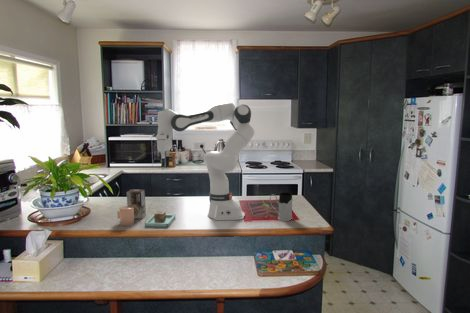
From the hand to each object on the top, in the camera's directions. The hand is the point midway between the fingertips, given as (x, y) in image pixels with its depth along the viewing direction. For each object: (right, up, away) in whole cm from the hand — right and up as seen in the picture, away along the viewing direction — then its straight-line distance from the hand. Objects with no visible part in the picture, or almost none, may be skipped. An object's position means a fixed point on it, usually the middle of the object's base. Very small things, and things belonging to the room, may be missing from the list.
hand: (165, 157), depth 205 cm
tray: (+1, -37, -18) cm, 41 cm away
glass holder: (+71, -37, -9) cm, 80 cm away
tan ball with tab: (-17, -37, -21) cm, 46 cm away
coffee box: (-15, -36, -9) cm, 40 cm away
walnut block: (+1, -36, -18) cm, 41 cm away
